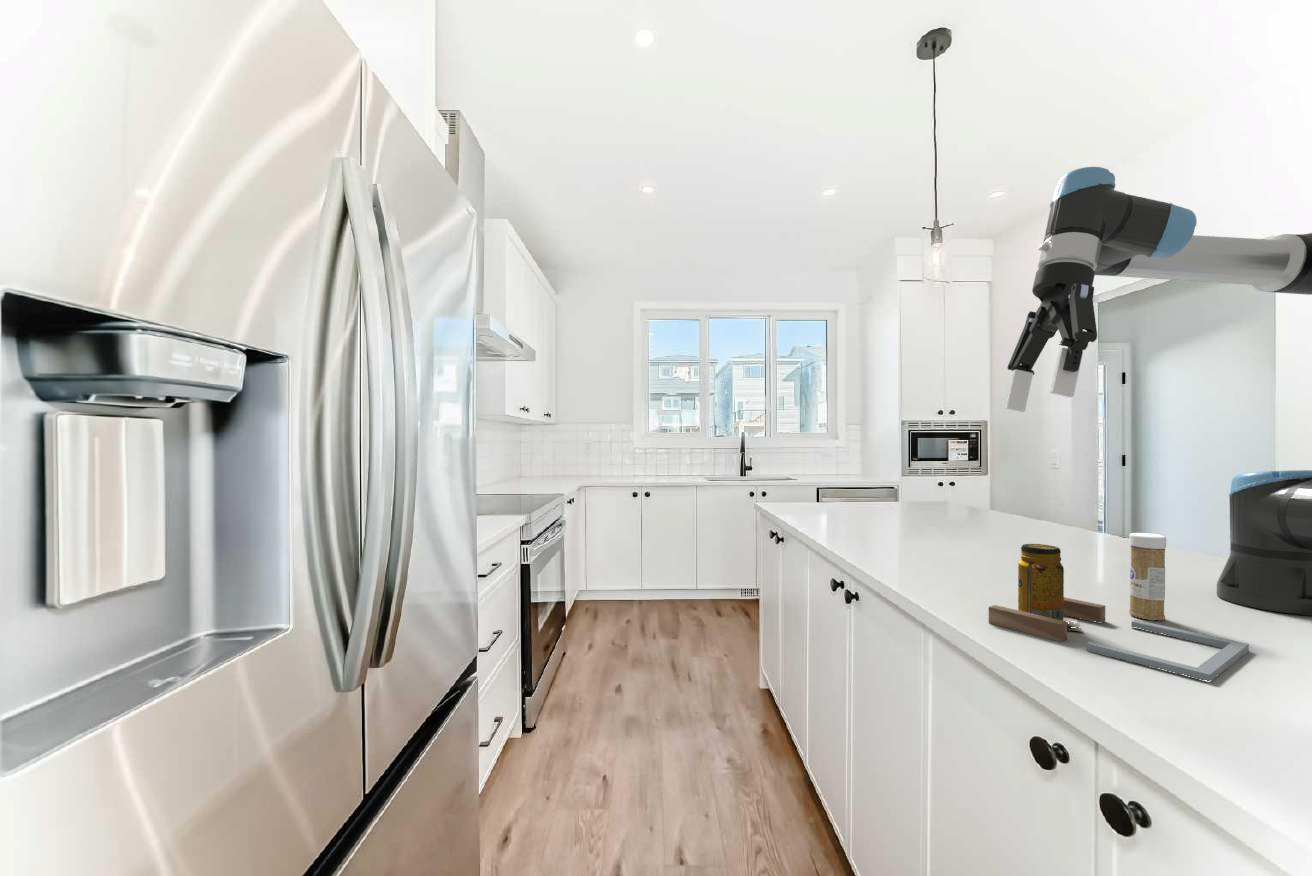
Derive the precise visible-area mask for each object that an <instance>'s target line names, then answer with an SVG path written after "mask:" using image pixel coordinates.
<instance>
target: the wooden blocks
mask: <svg viewBox="0 0 1312 876" xmlns="http://www.w3.org/2000/svg"><path fill="white" fill-rule="evenodd" d="M1064 615H1066V616H1065V617H1069V616H1071V617H1070V618H1073V617H1076V618H1075V619H1077V618H1081V619H1080V620H1082V619H1084V620H1083V621H1086V620H1088V621H1087V622H1091V621H1096V622H1102V621H1105V622H1106V605H1105V604H1099V603H1094V602H1091V601H1090V602H1089V601H1084V600H1079V599H1074V598H1070V597H1066V596H1064ZM988 624H991V625H996V626H999V627H1003V628H1007V629H1011V630H1015V631H1019V632H1023V633H1027V634H1030V635H1032V636H1033V635H1034V636H1038V637H1041V638H1046V639H1049V640H1054V641H1058V642H1060V643H1061V642H1063V641H1066V640H1067V639H1068V630H1067V622H1066V621H1062V620H1058V619H1053V618H1049V617H1045V616H1040V615H1036V614H1032V613H1028V612H1023V611H1019V610H1018V609H1014V608H1010V607H1006V606H1001V605H996V604H995V605H991V606H988Z"/></svg>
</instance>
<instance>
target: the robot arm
mask: <svg viewBox="0 0 1312 876" xmlns="http://www.w3.org/2000/svg"><path fill="white" fill-rule="evenodd" d="M1049 208H1050V210H1049V215H1048V219H1047V224H1046V229H1045V231H1044V232H1045V233H1044V236H1043V237H1044V239H1043V242H1042V244H1040V246H1039V247H1038V250H1039V251H1041V252H1040V257H1039V261H1038V263H1037V268H1038V269H1037V270H1036V272H1035V277H1034V281H1033V285H1032V294H1033V295H1034V296H1035V297H1036V298H1037V299H1039V301H1040V305H1039V307H1038V308H1037V309H1036V311H1031V310H1030V311H1028V313H1027V316H1026V320H1025V324H1024V327H1023V329H1022V331H1021V334H1020V336H1019V337H1018V341H1017V343H1016V346H1015V347H1014V348H1015V349H1014V350H1013V352H1012V355H1011V358H1010V360H1009V362H1008V365H1007V367H1006V368H1007V370H1010V371H1012V376H1011V379H1010V385H1009V389H1008V394H1007V399H1006V401H1005V409H1007V410H1011V411H1015V412H1020V413H1025V412H1026V407H1027V402H1028V399H1029V393H1030V388H1031V385H1032V380H1033V376H1034V375H1035V374H1036V373H1035V371H1034V370H1033V367H1034V366H1035V364H1036V362H1037V360H1038V359H1039V357H1040V355H1041V354H1042V352H1043V350H1044V347H1045V346H1046V344H1047V342H1048V341H1049V339H1051V338H1054V337H1055V335H1056V333H1057V332H1058V333H1059V334H1060V337H1061V341H1060V342H1059V344H1058V346H1061V348H1059V349H1058V355H1057V359H1056V364H1055V368H1054V372H1053V376H1052V382H1051V385H1050V391H1049V394H1054V395H1057V396H1062V397H1067V398H1073V397H1074V396H1075V391H1076V388H1077V386H1076V385H1077V382H1078V378H1079V373H1080V367H1081V364H1082V359H1083V353H1084V352H1083V351H1086V350H1087V348H1088V346H1089V342H1090V343H1095V341H1097V339H1098V330H1097V323H1096V316H1095V315H1096V313H1095V307H1094V299H1093V298H1094V293H1095V287H1094V286H1093V284H1094V280H1095V276H1102V277H1103V276H1105V277H1108V276H1109V277H1120V278H1121V277H1125V278H1136V279H1137V278H1139V279H1154V280H1156V279H1157V280H1167V281H1168V280H1170V281H1184V282H1186V281H1187V282H1201V283H1215V284H1217V283H1218V284H1231V285H1232V284H1235V285H1248V286H1249V285H1250V286H1252V287H1253V288H1254V289H1255V290H1257V291H1260V292H1265V293H1278V294H1279V293H1280V294H1290V295H1291V294H1294V295H1310V296H1311V295H1312V232H1309V233H1303V234H1292V233H1284V234H1278V235H1275V236H1273V237H1271V238H1266V239H1265V238H1253V237H1252V238H1249V237H1247V238H1246V237H1231V236H1215V235H1213V236H1212V235H1211V236H1210V235H1196V234H1194V233H1195V228H1196V226H1197V215H1196V214H1195V212H1193V210H1191V209H1190V208H1186V207H1183V206H1179V205H1176V204H1174V203H1172V202H1166V201H1162V200H1161V201H1160V200H1156V199H1151V198H1147V197H1142V196H1137V195H1132V194H1129V193H1125V192H1123V191H1119V190H1116V176H1115V174H1114V173H1113V172H1110V170H1109V169H1107V168H1105V167H1100V166H1087V167H1086V166H1085V167H1081V168H1076V169H1074V170H1071V171H1069V172H1068V173H1066V174H1064V175H1063V176H1062V177H1060V179H1059V180H1058V182H1057V184H1056V187H1055V190H1054V192H1053V196H1052V200H1051V202H1050V205H1049ZM1062 346H1063V347H1062ZM1066 347H1067V348H1066ZM1230 484H1231V485H1230V492H1229V494H1228V497H1229V539H1230V540H1229V541H1230V545H1229V547H1230V553H1229V557H1228V558H1227V560H1226V562H1225V565H1224V566H1223V569H1222V571H1221V573H1220V576H1219V577H1218V580H1217V582H1216V596H1217V597H1219V598H1220V599H1222V600H1225V601H1227V602H1231V603H1234V604H1237V605H1241V606H1245V607H1250V608H1255V609H1260V610H1266V611H1271V612H1277V613H1284V614H1293V615H1303V616H1312V470H1311V469H1310V470H1309V469H1308V470H1307V469H1306V470H1305V469H1304V470H1303V469H1300V470H1299V469H1298V470H1296V469H1295V470H1293V469H1292V470H1271V471H1270V470H1267V471H1263V470H1262V471H1250V472H1242V473H1238V474H1235V476H1233V477H1232V479H1231V483H1230Z"/></svg>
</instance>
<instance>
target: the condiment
mask: <svg viewBox="0 0 1312 876" xmlns="http://www.w3.org/2000/svg"><path fill="white" fill-rule="evenodd" d="M1020 552H1021V554H1020V558H1021V559H1020V560H1019V562H1018V568H1017V569H1018V570H1017V571H1018V574H1017V575H1018V576H1017V577H1018V578H1017V579H1018V580H1017V581H1018V583H1017V586H1018V588H1017V595H1018V596H1017V597H1018V598H1017V602H1018V604H1017V605H1018V607H1017V608H1018V609H1017V610H1019V611H1023V612H1028V613H1032V614H1036V615H1040V616H1045V617H1049V618H1053V619H1058V620H1062V621H1069V624H1068V622H1067V631H1077V632H1081V633H1083V632H1084V630H1083V629H1082V627H1081V625H1080V623H1079V621H1078V620H1079V619H1077V618H1073V617H1065V616H1064V597H1065V596H1064V587H1065V585H1064V583H1065V582H1064V580H1065V578H1064V577H1065V576H1064V575H1065V574H1064V573H1065V569H1064V566H1063V563H1061V561H1062V557H1061V553H1062V552H1061V549H1060V548H1059V547H1058V546H1054V545H1050V544H1042V543H1024V544H1022V545H1021V547H1020ZM1071 621H1078V623H1079V624H1078V623H1075V624H1074V622H1071ZM1079 625H1080V626H1079ZM1071 627H1076V628H1071ZM1079 627H1081V628H1079Z"/></svg>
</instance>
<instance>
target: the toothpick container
mask: <svg viewBox="0 0 1312 876" xmlns="http://www.w3.org/2000/svg"><path fill="white" fill-rule="evenodd" d="M1128 539H1129V541H1128V543H1129V545H1130V568H1129V569H1130V570H1129V573H1130V575H1129V576H1130V577H1129V579H1130V580H1129V595H1130V596H1129V597H1130V601H1129V611H1128V613H1129V615H1130V616H1132V615H1133V616H1132V617H1134V616H1135V617H1134V618H1137V617H1139V618H1138V619H1140V618H1142V619H1141V620H1144V619H1147V620H1146V621H1155V620H1157V621H1158V620H1159V622H1160V621H1164V620H1165V619H1166V616H1165V599H1166V560H1165V558H1166V555H1165V554H1166V548H1167V536H1164V535H1162V534H1158V533H1150V532H1149V533H1147V532H1132V533H1130V534H1129V537H1128Z"/></svg>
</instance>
